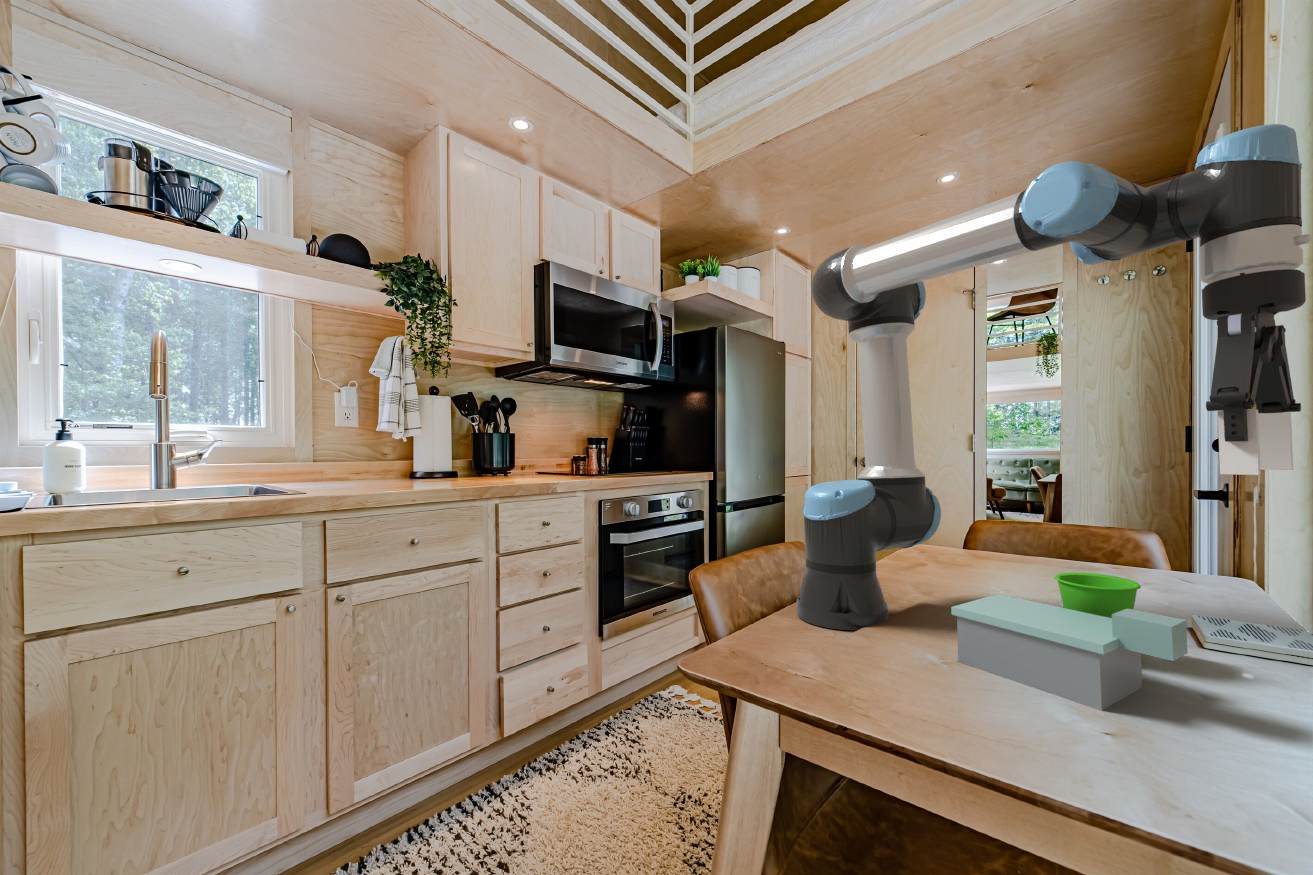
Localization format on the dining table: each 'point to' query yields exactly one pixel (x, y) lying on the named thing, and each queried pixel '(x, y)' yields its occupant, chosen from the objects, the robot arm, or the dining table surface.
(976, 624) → the tub
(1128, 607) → the cup
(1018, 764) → the dining table surface
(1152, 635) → the lid
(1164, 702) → the dining table surface
